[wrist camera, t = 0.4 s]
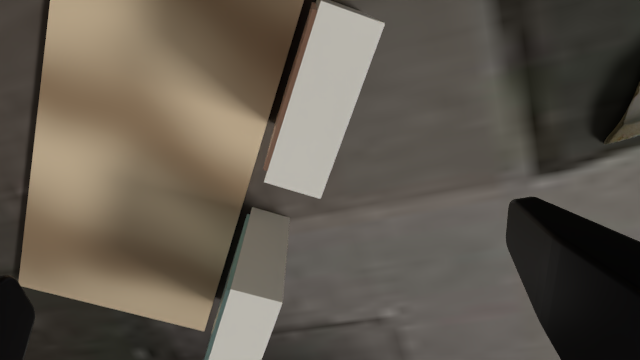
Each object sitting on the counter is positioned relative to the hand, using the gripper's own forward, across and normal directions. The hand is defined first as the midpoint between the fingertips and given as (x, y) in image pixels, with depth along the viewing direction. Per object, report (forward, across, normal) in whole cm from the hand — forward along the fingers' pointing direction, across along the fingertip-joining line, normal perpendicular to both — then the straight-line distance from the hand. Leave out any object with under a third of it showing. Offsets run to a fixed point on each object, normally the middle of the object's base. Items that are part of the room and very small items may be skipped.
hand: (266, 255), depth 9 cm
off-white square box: (+13, +3, +11) cm, 17 cm away
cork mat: (+14, +6, +3) cm, 16 cm away
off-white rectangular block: (+14, -2, +1) cm, 14 cm away
